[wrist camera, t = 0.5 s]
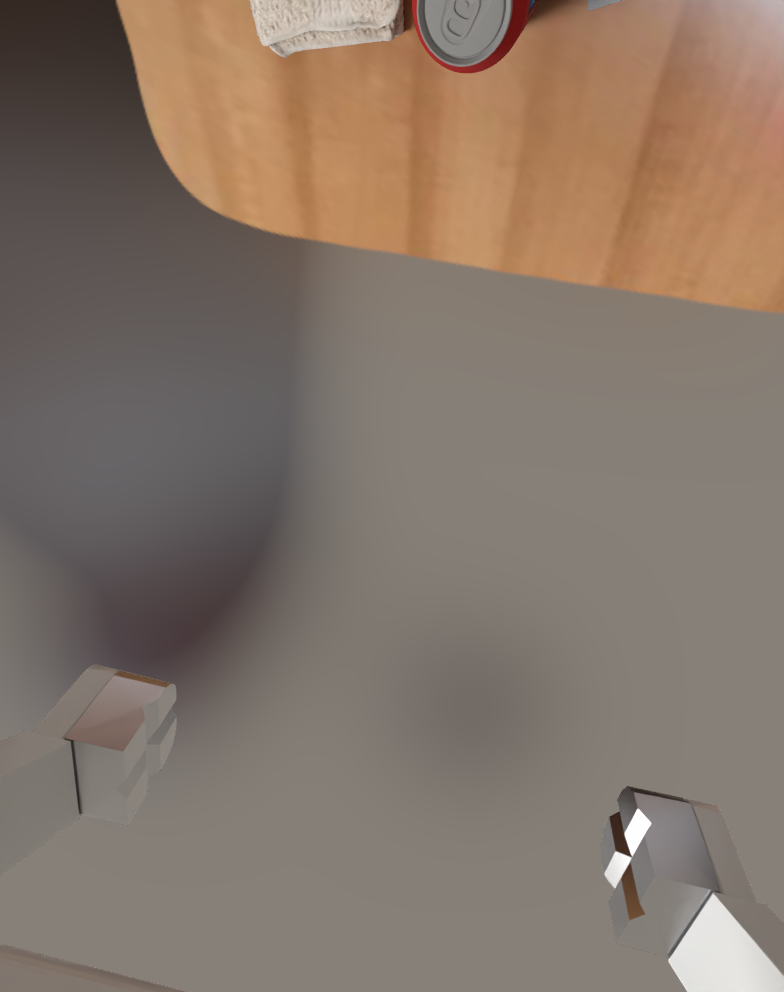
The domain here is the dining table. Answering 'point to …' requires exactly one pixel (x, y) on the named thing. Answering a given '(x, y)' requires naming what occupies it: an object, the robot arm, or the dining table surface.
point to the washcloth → (325, 23)
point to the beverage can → (470, 30)
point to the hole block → (599, 3)
